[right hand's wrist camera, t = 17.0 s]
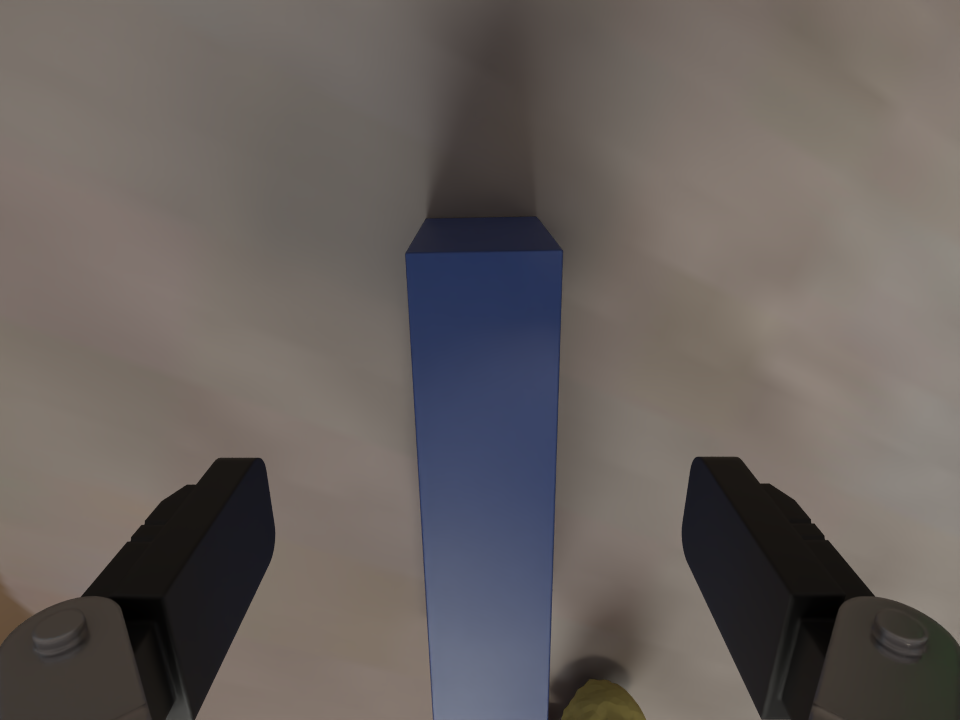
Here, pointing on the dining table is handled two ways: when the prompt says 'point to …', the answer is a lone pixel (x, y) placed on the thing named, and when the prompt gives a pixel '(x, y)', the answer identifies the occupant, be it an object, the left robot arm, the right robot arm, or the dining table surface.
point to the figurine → (602, 703)
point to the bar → (486, 457)
